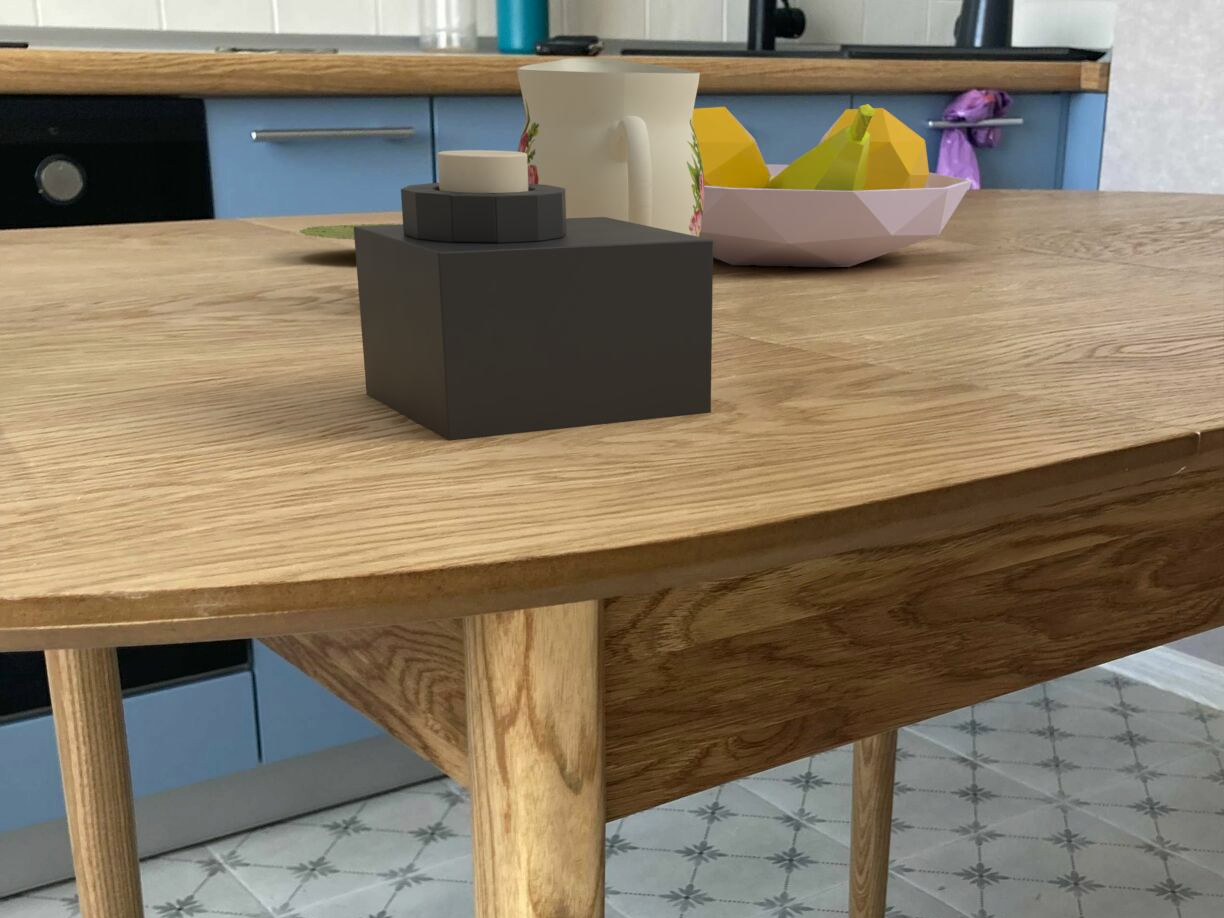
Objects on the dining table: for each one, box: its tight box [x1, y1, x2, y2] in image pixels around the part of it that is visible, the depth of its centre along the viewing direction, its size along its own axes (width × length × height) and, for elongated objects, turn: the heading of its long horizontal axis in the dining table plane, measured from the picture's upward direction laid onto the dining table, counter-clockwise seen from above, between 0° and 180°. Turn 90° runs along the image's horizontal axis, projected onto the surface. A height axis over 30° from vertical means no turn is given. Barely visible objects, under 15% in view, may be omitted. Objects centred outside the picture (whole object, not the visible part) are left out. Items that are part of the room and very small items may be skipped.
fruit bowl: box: [692, 103, 974, 268], centre depth 115 cm, size 28×27×11 cm
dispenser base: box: [354, 182, 714, 442], centre depth 66 cm, size 12×10×9 cm
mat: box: [299, 223, 401, 241], centre depth 113 cm, size 11×11×2 cm
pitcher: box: [516, 57, 704, 237], centre depth 89 cm, size 11×18×14 cm, turn 14°
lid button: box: [437, 149, 528, 193], centre depth 63 cm, size 4×4×2 cm
